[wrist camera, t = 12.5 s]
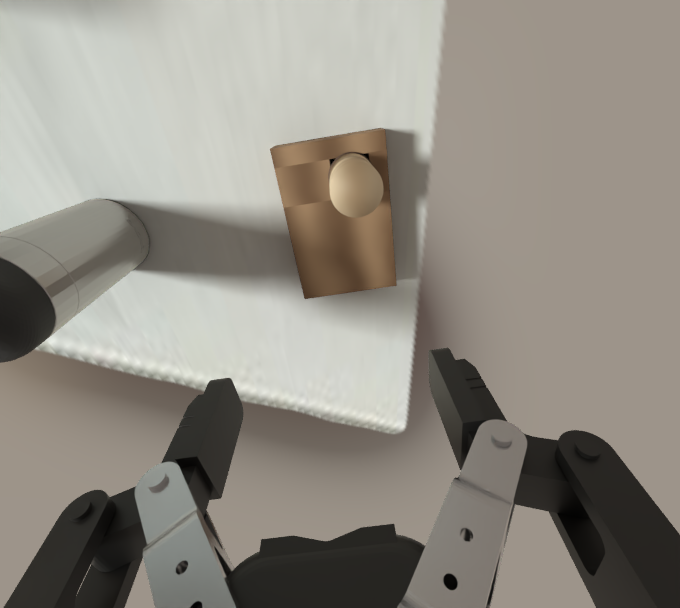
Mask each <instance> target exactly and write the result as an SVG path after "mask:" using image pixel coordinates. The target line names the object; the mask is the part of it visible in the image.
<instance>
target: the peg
mask: <svg viewBox="0 0 680 608" xmlns="http://www.w3.org/2000/svg"><path fill="white" fill-rule="evenodd" d="M328 179H329V186H330V197H331V201H332V203H333V205H334V206H335V208H336V209H337V210H338V211H339V212H340V213H342V214H343V215H346V216H348V217H353V218H358V217H363V216H366V215H368V214H370V213H371V212H373V211H374V210H375V209H376V208H377V207H378V205H379V204H380V202H381V199H382V196H383V181H382V178H381V176H380V174H379V173H378V171H377V170H376V169H375V168H374V167H373V166H372V164H371V162H370V161H369V159H368V158H367V157H365V156H364V155H362V154H360V153H358V152H346V153H343V154H341V155H339V156H338V157H337V158H336V159H335V160H334V161H333V163H332V164H331V166H330V169H329V174H328Z"/></svg>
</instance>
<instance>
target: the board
mask: <svg viewBox="0 0 680 608" xmlns="http://www.w3.org/2000/svg"><path fill="white" fill-rule="evenodd" d="M270 151H271V155H272V160H273V164H274V168H275V173H276V177H277V181H278V185H279V190H280V194H281V198H282V203H283V207H284V211H285V216H286V220H287V224H288V229H289V233H290V237H291V242H292V246H293V250H294V255H295V259H296V263H297V268H298V272H299V276H300V281H301V285H302V289H303V294H304V298H305V299H308V298H314V297H321V296H328V295H335V294H342V293H348V292H355V291H362V290H369V289H376V288H382V287H389V286H396V273H395V259H394V245H393V232H392V218H391V204H390V190H389V176H388V162H387V148H386V134H385V129H381V128H378V129H372V130H366V131H360V132H354V133H348V134H342V135H336V136H330V137H324V138H318V139H312V140H307V141H301V142H295V143H289V144H283V145H277V146H274V147H273V148H271V149H270ZM346 152H358V153H360V154H364V153H365V155H366V157H367V158H368V159H369V161H370V162H371V164H372V166H373V167H374V168H375V169H376V170H377V171H378V173H379V174H380V176H381V178H382V181H383V196H382V199H381V202H380V204H379V205H378V207H377V208H376V209H375V210H374V211H373V212H371V213H370V214H368V215H366V216H363V217H358V218H353V217H348V216H346V215H343V214H342V213H340V212H339V211H338V210H337V209H336V208H335V206H334V205H333V203H332V201H331V197H330V186H329V179H328V174H329V169H330V166H331V165H330V159H334V158H337V157H338V156H339V155H341V154H343V153H346Z"/></svg>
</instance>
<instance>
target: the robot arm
mask: <svg viewBox="0 0 680 608" xmlns="http://www.w3.org/2000/svg"><path fill="white" fill-rule="evenodd" d="M148 252H149V237H148V234H147V232H146V229H145V228H144V226H143V224H142V222H141V221H140V220H139V219H138V218H137V216H136V215H134V214H133V213H132V212H131V211H130V210H129V209H127V208H125V207H124V206H122V205H120V204H118V203H116V202H113V201H110V200H105V199H93V200H88V201H85V202H82V203H80V204H77V205H74V206H71V207H69V208H66V209H63V210H60V211H57V212H55V213H52V214H49V215H46V216H44V217H41V218H38V219H35V220H33V221H30V222H27V223H24V224H21V225H19V226H16V227H13V228H10V229H8V230H5V231H2V232H0V362H7V361H12V360H15V359H17V358H20V357H22V356H24V355H26V354H28V353H29V352H31V351H32V350H34V349H35V348H36V347H37V346H39V345H40V344H41V343H42V342H44V341H45V340H46V339H47V338H49V337H50V336H51V335H52V334H54V333H55V332H56V331H57V330H59V329H60V328H61V327H62V326H64V325H65V324H66V323H67V322H69V321H70V320H71V319H72V318H73V317H75V316H76V315H77V314H78V313H80V312H81V311H82V310H83V309H85V308H86V307H87V306H88V305H89V304H91V303H92V302H93V301H94V300H96V299H97V298H98V297H99V296H101V295H102V294H103V293H104V292H106V291H107V290H108V289H109V288H111V287H112V286H113V285H114V284H116V283H117V282H118V281H119V280H121V279H122V278H123V277H125V276H126V275H127V274H128V273H130V272H131V271H132V270H133V269H134V268H136V267H137V266H138V265H139V264H141V263H142V262H143V261H144V259H145V258H146V257H147V254H148ZM429 383H430V388H431V393H432V396H433V399H434V401H435V404H436V407H437V409H438V412H439V414H440V417H441V420H442V423H443V425H444V428H445V430H446V433H447V436H448V438H449V441H450V444H451V446H452V449H453V452H454V455H455V457H456V460H457V462H458V465H459V468H460V470H461V472H460V475H459V477H458V478H454V480H453V482H452V483H451V486H450V488H449V490H448V493H447V495H446V498H445V500H444V502H443V505H442V507H441V510H440V512H439V514H438V517H437V520H436V522H435V524H434V527H433V529H432V531H431V534H430V536H429V539H428V541H427V543H426V546H424V545H422V544H421V543H420V542H418V541H415V540H413V539H411V538H408V537H405V536H401V535H396V532H395V527H394V524H389V525H380V526H372V527H363V528H359V529H357V530H355V531H352V532H350V533H348V534H345V535H343V536H340V537H338V538H335V539H333V540H331V541H319V540H314V539H309V538H303V537H298V536H287V537H278V538H270V539H262V540H261V546H260V552H257V553H255V554H254V555H252V556H250V557H248V558H247V559H246V560H244V561H243V562H242V563H240V564H239V565H238V566H237V567H236V568H234V567H233V565H232V563H231V561H230V559H229V558H228V555H227V553H226V551H225V549H224V547H223V544H222V542H221V540H220V538H219V536H218V533H217V531H216V529H215V527H214V524H213V522H212V520H211V518H210V516H209V514H208V512H207V510H206V509H207V506H208V503H209V500H212V499H219V498H221V497H222V493H223V489H224V486H225V482H226V479H227V475H228V471H229V468H230V464H231V460H232V456H233V453H234V449H235V446H236V442H237V438H238V435H239V431H240V428H241V424H242V420H243V407H242V403H241V401H240V398H239V396H238V394H237V391H236V389H235V386H234V384H233V382H232V380H231V379H230V378H224V379H217V380H211V381H210V382H209V383H208V385H207V387H206V390H205V392H204V394H203V395H198V396H197V397H196V398H195V399H194V400H193V401H192V403H191V404H190V405H189V406H188V408H187V410H186V412H185V414H184V416H183V419H182V421H181V423H180V425H179V428H178V429H177V431H176V433H175V435H174V437H173V440H172V442H171V444H170V446H169V448H168V450H167V452H166V454H165V457H164V459H163V461H162V463H161V464H158V465H156V466H155V467H153V468H152V469H150V470H149V471H147V472H146V474H144V475H143V476H142V478H141V479H140V480H139V482H138V484H137V486H136V487H134V488H131V489H129V490H127V491H124V492H122V493H119V494H117V495H114V496H112V497H109V496H108V495H107V494H106V493H105V492H104V491H102V490H94V491H90V492H87V493H85V494H83V495H82V496H80V497H79V498H77V499H75V500H74V501H73V502H72V503H71V504H69V506H68V507H66V509H65V510H64V511H63V512H62V514H61V515H60V517H59V518H58V520H57V521H56V523H55V525H54V526H53V528H52V530H51V531H50V533H49V535H48V536H47V538H46V539H45V541H44V543H43V544H42V546H41V548H40V549H39V551H38V553H37V554H36V556H35V557H34V559H33V561H32V562H31V564H30V566H29V567H28V569H27V571H26V572H25V574H24V575H23V577H22V579H21V580H20V582H19V584H18V585H17V587H16V588H15V590H14V592H13V593H12V595H11V597H10V598H9V600H8V601H7V603H6V605H5V606H4V608H124V607H125V604H126V602H127V599H128V596H129V593H130V591H131V588H132V585H133V582H134V580H135V577H136V574H137V572H138V569H139V566H140V563H141V561H142V558H144V563H145V567H146V571H147V575H148V579H149V584H150V588H151V592H152V596H153V600H154V605H155V608H490V606H491V602H492V597H493V593H494V589H495V585H496V582H497V577H498V573H499V569H500V564H501V560H502V556H503V552H504V548H505V543H506V539H507V535H508V532H509V528H510V523H511V519H512V515H513V511H514V507H515V504H516V505H521V506H526V507H531V508H536V509H540V510H545V511H549V513H550V515H551V517H552V519H553V521H554V523H555V525H556V527H557V529H558V531H559V533H560V535H561V537H562V539H563V541H564V543H565V545H566V547H567V549H568V551H569V553H570V556H571V558H572V560H573V562H574V564H575V566H576V568H577V569H578V572H579V574H580V576H581V578H582V580H583V582H584V584H585V586H586V588H587V590H588V592H589V594H590V596H591V598H592V600H593V602H594V604H595V606H596V608H680V535H679V533H678V532H677V531H676V529H675V528H674V527H673V525H672V524H671V523H670V522H669V520H668V519H667V518H666V516H665V515H664V514H663V513H662V511H661V510H660V509H659V507H658V506H657V505H656V504H655V502H654V501H653V500H652V498H651V497H650V496H649V495H648V493H647V492H646V491H645V489H644V488H643V487H642V486H641V484H640V483H639V482H638V480H637V479H636V478H635V477H634V475H633V474H632V473H631V472H630V470H629V469H628V468H627V466H626V465H625V464H624V462H623V461H622V460H621V459H620V457H619V456H618V455H617V454H616V452H615V451H614V449H613V448H612V447H611V446H610V445H609V444H608V443H606V442H605V441H604V440H603V439H601V438H599V437H598V436H596V435H593V434H591V433H588V432H584V431H577V430H574V431H568V432H565V433H563V434H562V435H561V436H560V438H559V440H551V439H544V438H537V437H532V436H529V435H526V434H524V433H523V432H522V431H521V430H520V429H519V428H518V427H516V426H515V425H513V424H511V423H509V422H507V420H506V419H505V417H504V415H503V414H502V412H501V410H500V409H499V407H498V405H497V403H496V402H495V400H494V398H493V397H492V395H491V393H490V391H489V390H488V388H486V385H485V383H484V381H483V380H482V379H481V376H480V374H479V373H478V371H477V369H476V368H475V367H474V366H473V365H472V364H471V363H469V362H468V361H467V360H465V359H460V360H455V359H454V357H453V355H452V353H451V351H450V349H449V348H443V349H436V350H429ZM90 564H91V567H90V569H89V566H90ZM88 569H89V571H88ZM87 571H88V573H87ZM86 573H87V575H86ZM85 575H86V577H85ZM84 577H85V579H84ZM83 579H84V581H83ZM82 581H83V583H82ZM81 583H82V586H81V588H80V590H79V587H80V585H81ZM78 590H79V592H78ZM77 592H78V594H77ZM76 595H77V596H76Z"/></svg>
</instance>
